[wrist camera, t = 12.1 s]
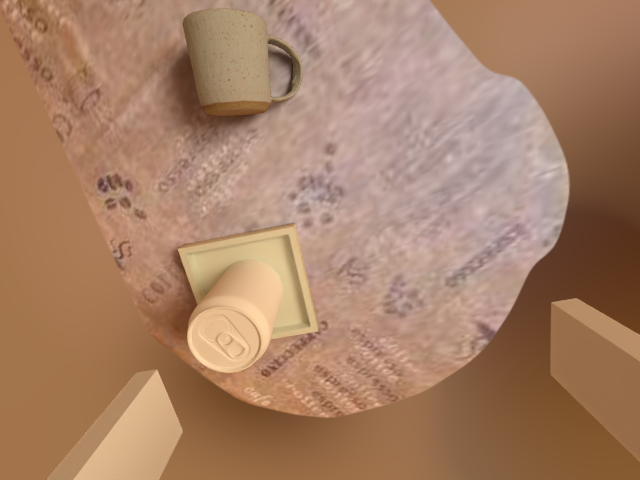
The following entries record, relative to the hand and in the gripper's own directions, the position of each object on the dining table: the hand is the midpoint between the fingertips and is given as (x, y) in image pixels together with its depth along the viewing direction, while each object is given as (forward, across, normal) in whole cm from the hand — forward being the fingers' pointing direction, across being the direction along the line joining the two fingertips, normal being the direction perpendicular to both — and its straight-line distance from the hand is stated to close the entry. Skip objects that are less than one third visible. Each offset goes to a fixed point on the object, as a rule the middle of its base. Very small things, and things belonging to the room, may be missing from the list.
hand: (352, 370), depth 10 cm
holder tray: (+29, -12, -8) cm, 32 cm away
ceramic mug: (+29, -6, +17) cm, 34 cm away
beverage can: (+28, -12, -8) cm, 32 cm away
